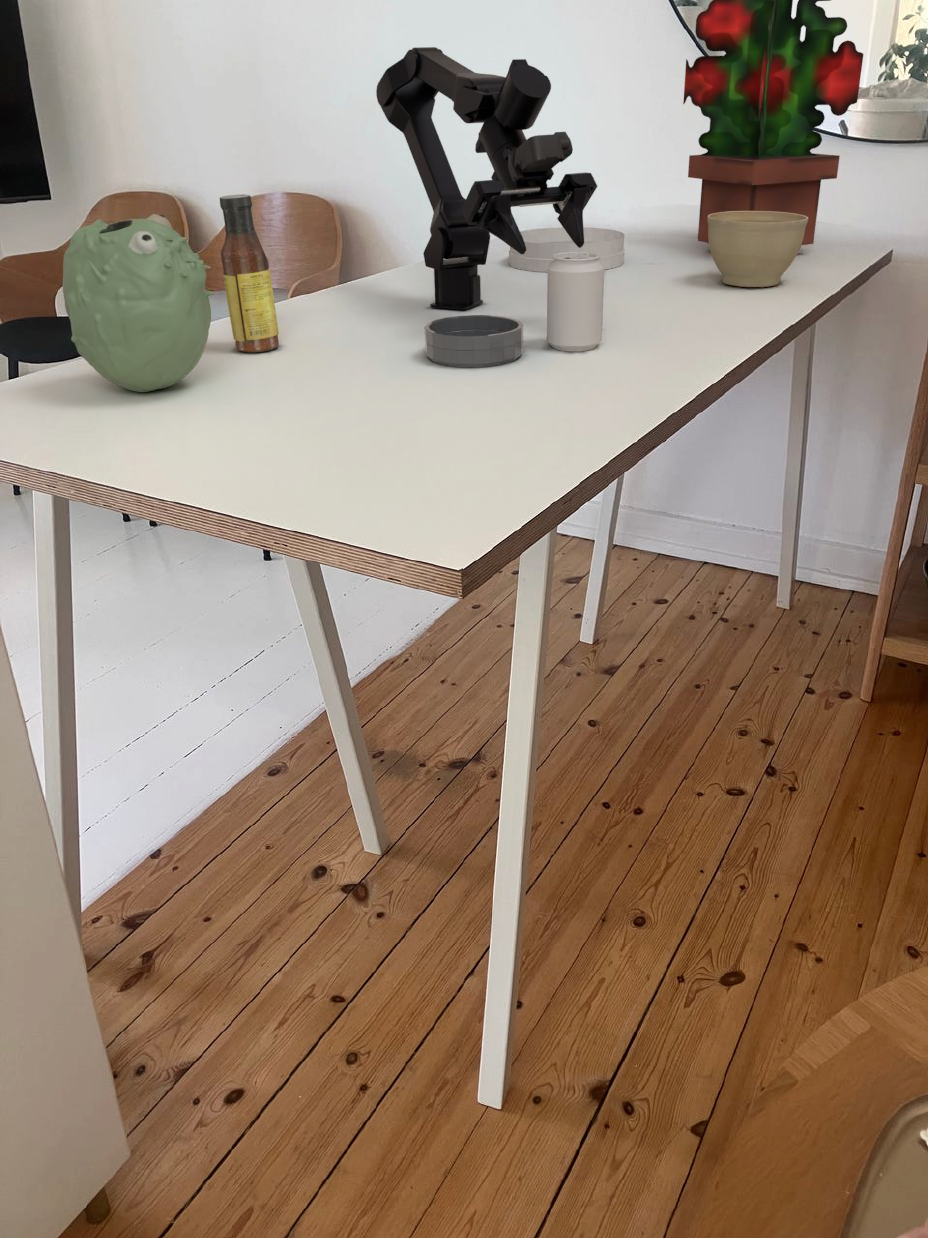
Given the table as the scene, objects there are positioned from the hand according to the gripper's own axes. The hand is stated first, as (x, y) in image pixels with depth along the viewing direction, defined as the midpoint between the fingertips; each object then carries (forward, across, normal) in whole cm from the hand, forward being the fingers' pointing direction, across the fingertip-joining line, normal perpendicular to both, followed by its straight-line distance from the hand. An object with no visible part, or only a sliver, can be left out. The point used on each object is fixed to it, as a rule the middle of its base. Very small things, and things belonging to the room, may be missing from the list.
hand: (553, 248), depth 142 cm
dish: (-28, +37, +45) cm, 65 cm away
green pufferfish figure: (+5, -55, +12) cm, 56 cm away
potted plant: (-19, +72, +36) cm, 83 cm away
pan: (+10, -14, +7) cm, 18 cm away
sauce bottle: (-4, -37, +22) cm, 43 cm away
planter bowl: (-2, +50, +19) cm, 54 cm away
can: (+12, 0, +5) cm, 13 cm away
